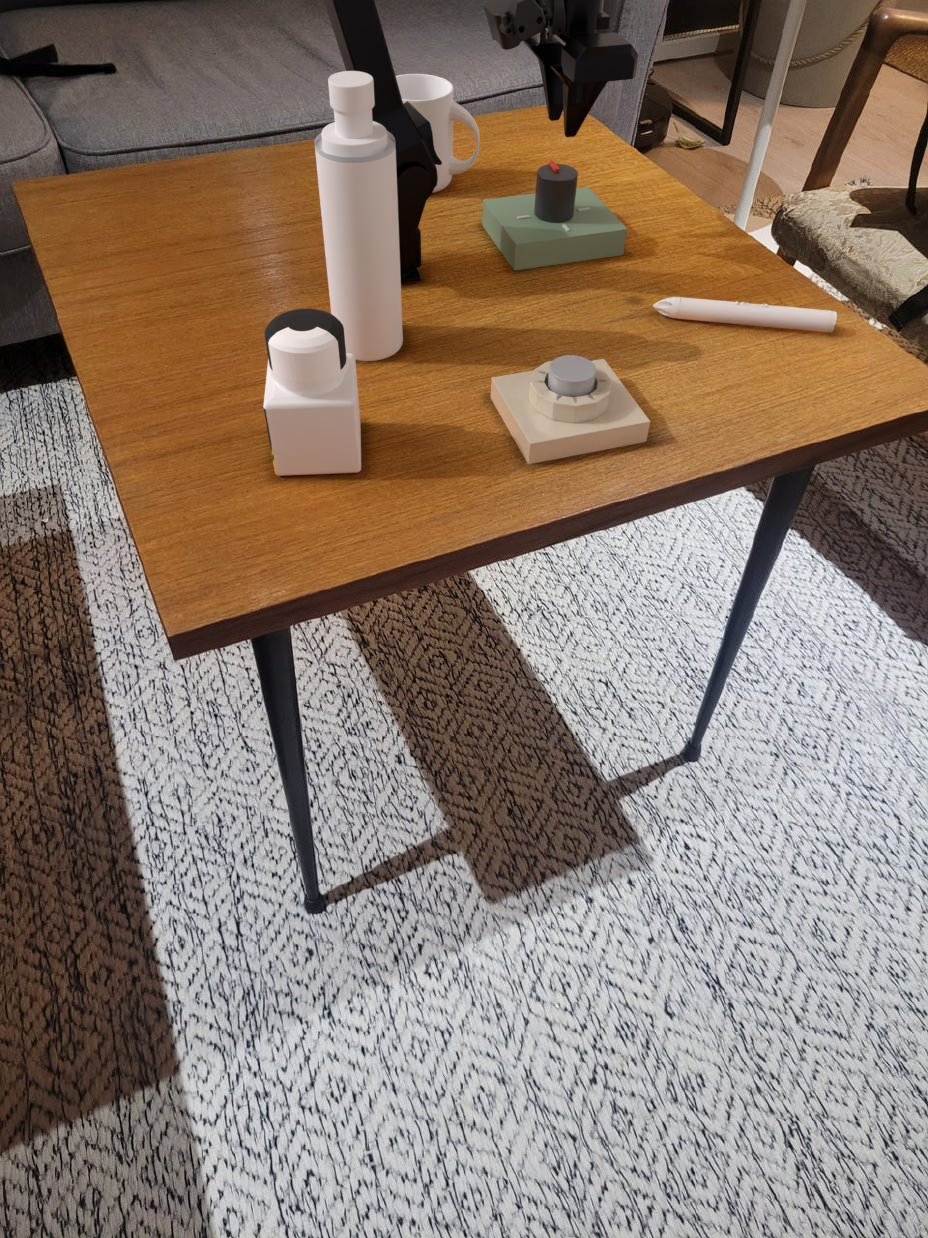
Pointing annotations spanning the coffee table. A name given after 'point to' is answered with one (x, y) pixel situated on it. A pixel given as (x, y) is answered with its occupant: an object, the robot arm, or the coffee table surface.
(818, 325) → the marker
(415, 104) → the mug
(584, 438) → the button housing
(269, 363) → the medicine bottle
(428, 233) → the coffee table surface
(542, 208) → the dial
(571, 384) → the gray button cap
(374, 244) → the white bottle
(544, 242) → the dial panel
